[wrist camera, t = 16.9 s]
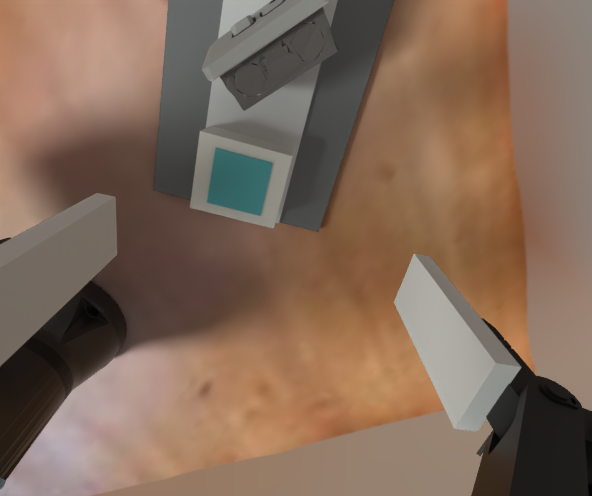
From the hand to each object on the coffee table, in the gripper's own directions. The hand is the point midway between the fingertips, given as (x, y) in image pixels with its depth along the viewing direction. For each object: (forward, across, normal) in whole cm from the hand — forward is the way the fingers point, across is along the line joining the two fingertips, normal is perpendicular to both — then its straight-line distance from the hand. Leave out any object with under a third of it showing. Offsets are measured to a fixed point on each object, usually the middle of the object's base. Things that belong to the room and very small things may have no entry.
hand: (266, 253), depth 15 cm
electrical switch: (+20, +2, -10) cm, 22 cm away
